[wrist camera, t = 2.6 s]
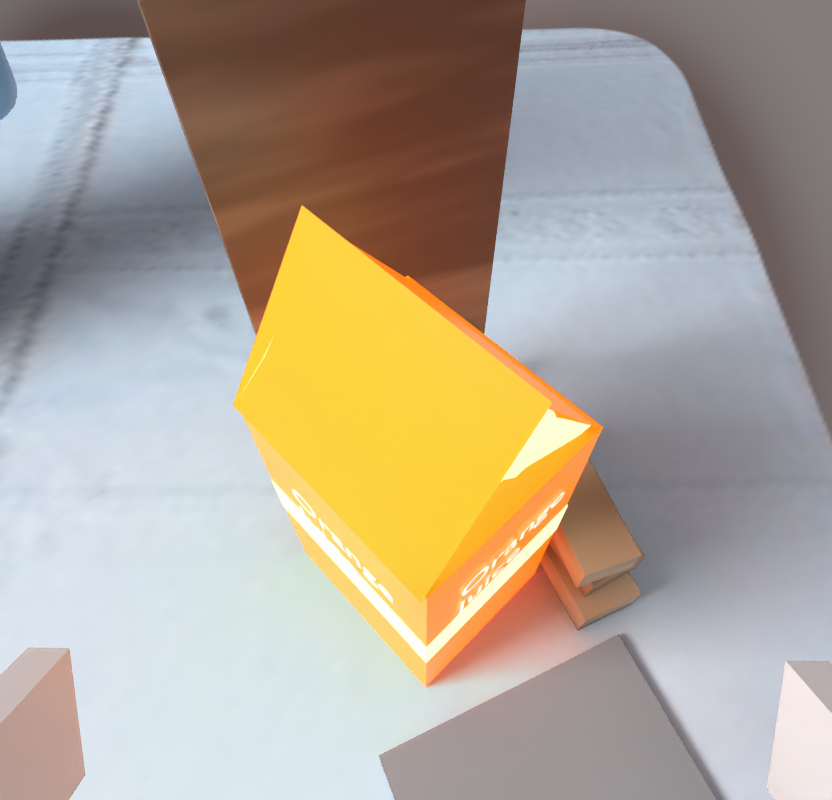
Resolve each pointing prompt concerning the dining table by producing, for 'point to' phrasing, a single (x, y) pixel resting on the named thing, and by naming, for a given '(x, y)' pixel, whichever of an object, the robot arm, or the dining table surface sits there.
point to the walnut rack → (373, 172)
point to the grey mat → (555, 742)
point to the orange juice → (405, 446)
